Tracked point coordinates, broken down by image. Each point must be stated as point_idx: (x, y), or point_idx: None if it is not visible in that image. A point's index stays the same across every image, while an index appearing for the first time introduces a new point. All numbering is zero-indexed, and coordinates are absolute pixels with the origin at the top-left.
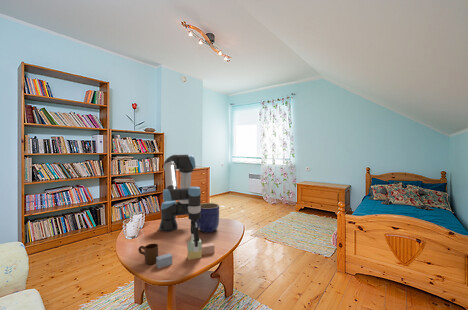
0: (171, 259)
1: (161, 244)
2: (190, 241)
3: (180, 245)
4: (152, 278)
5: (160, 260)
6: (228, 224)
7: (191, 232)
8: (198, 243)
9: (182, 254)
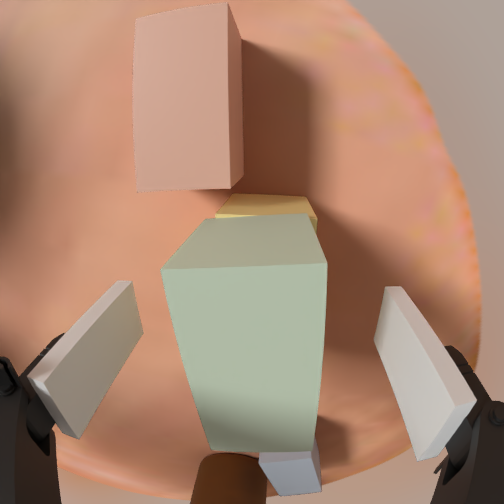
0: None
1: None
2: (241, 430)
3: (45, 323)
4: (390, 456)
5: (319, 480)
6: None
7: (54, 451)
8: (452, 360)
9: None
